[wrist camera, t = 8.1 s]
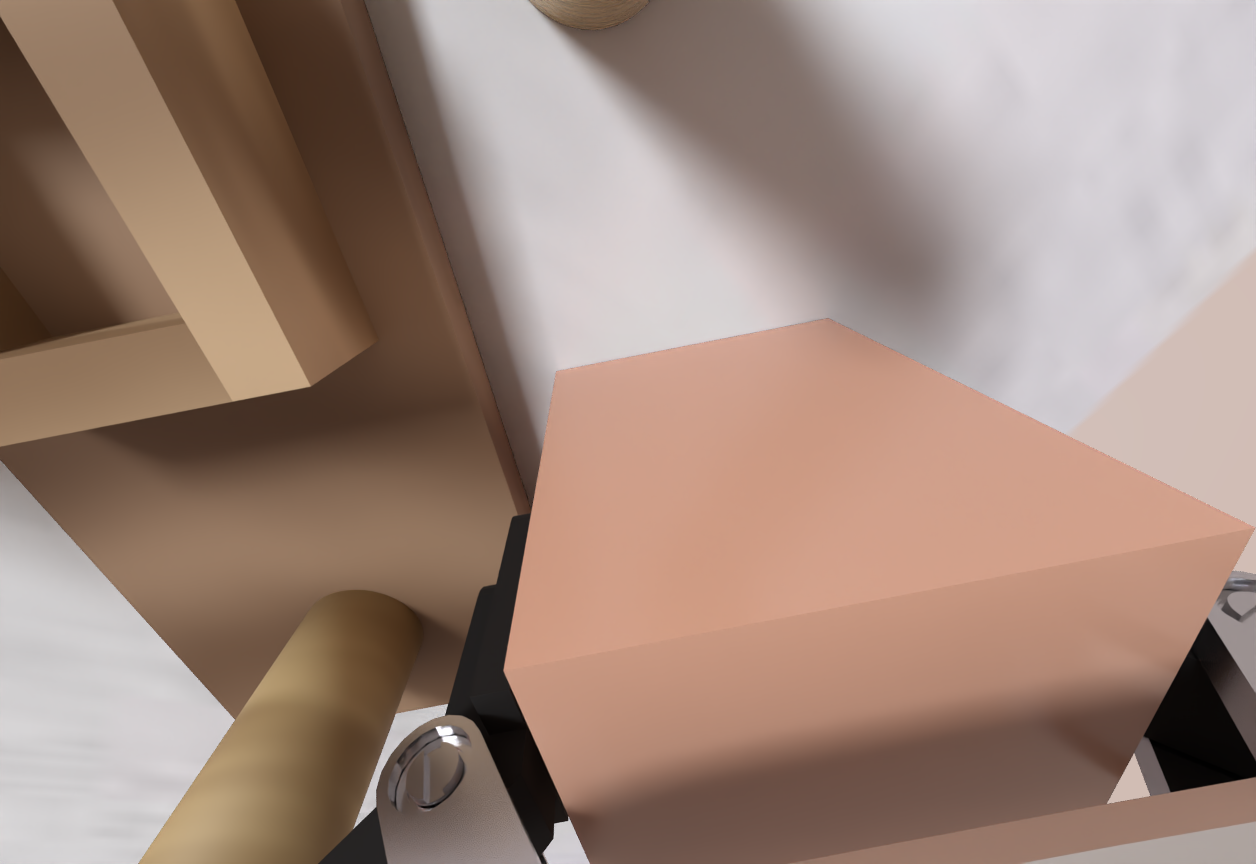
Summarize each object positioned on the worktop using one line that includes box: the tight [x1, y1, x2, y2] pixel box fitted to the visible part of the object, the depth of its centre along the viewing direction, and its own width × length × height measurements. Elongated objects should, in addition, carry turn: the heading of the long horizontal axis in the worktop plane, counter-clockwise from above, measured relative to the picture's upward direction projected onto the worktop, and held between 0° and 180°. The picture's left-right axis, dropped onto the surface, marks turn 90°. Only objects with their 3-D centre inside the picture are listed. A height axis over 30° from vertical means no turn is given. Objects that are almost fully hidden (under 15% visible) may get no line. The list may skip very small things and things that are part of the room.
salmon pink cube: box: [504, 318, 1255, 864], centre depth 9 cm, size 7×7×8 cm
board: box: [0, 0, 531, 864], centre depth 8 cm, size 18×10×7 cm, turn 10°
